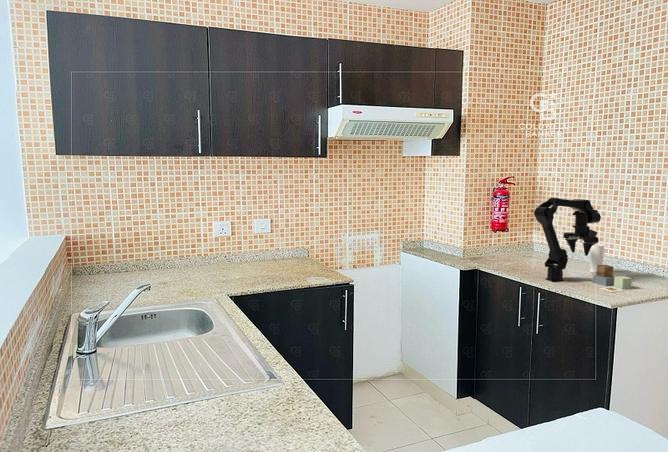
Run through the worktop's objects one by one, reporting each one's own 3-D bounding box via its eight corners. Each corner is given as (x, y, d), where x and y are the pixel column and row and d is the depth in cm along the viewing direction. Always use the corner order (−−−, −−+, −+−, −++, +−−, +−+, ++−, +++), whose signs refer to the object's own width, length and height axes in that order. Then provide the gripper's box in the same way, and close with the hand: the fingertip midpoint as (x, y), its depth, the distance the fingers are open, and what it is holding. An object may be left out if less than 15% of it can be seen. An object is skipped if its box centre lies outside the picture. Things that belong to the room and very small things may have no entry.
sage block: (622, 289, 233) (622, 279, 232) (613, 286, 238) (614, 276, 237) (631, 288, 234) (631, 278, 233) (622, 286, 239) (622, 275, 238)
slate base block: (605, 286, 239) (606, 278, 239) (592, 283, 246) (593, 275, 245) (615, 284, 242) (616, 276, 242) (602, 281, 249) (603, 273, 248)
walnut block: (603, 277, 241) (604, 267, 240) (596, 275, 245) (597, 265, 245) (612, 276, 242) (613, 266, 241) (605, 274, 246) (606, 264, 246)
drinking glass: (598, 270, 271) (599, 243, 269) (605, 273, 264) (607, 245, 262) (586, 271, 271) (587, 243, 269) (592, 273, 264) (594, 246, 262)
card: (611, 292, 228) (611, 291, 228) (599, 288, 234) (599, 287, 234) (623, 291, 229) (623, 290, 229) (611, 287, 236) (611, 286, 236)
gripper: (608, 225, 247) (606, 256, 249) (581, 221, 265) (579, 250, 267) (589, 226, 245) (588, 257, 247) (563, 222, 262) (562, 251, 264)
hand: (579, 254), depth 256 cm, fingers open, 9 cm apart
